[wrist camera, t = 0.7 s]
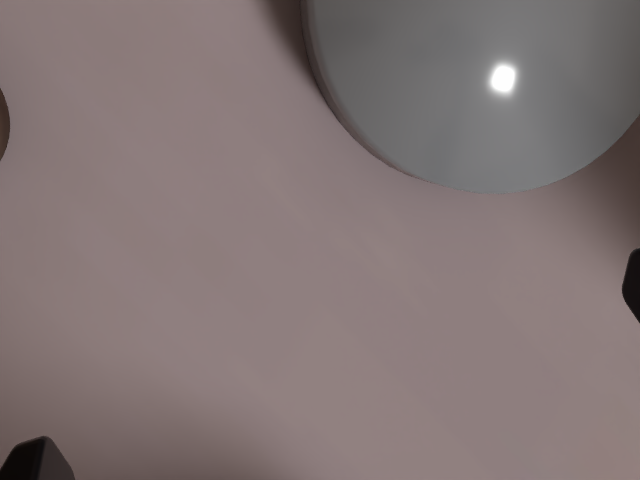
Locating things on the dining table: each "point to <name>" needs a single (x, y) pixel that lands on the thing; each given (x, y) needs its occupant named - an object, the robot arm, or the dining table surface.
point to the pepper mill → (3, 124)
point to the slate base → (479, 84)
